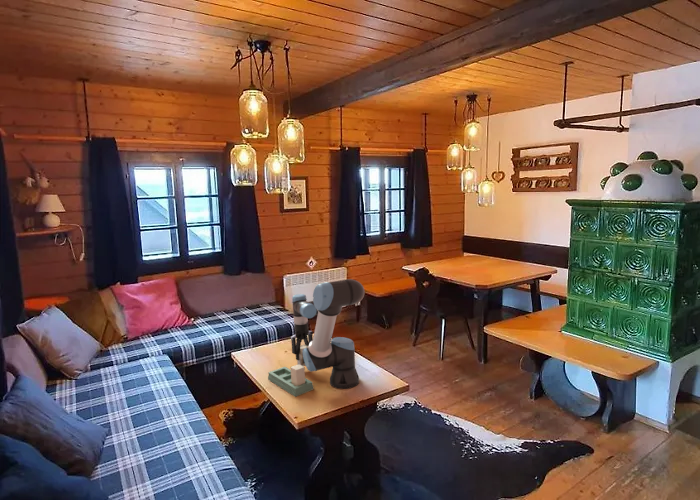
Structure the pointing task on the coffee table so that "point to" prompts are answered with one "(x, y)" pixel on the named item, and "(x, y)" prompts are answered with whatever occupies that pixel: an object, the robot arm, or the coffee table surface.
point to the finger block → (302, 354)
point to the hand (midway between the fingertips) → (303, 363)
